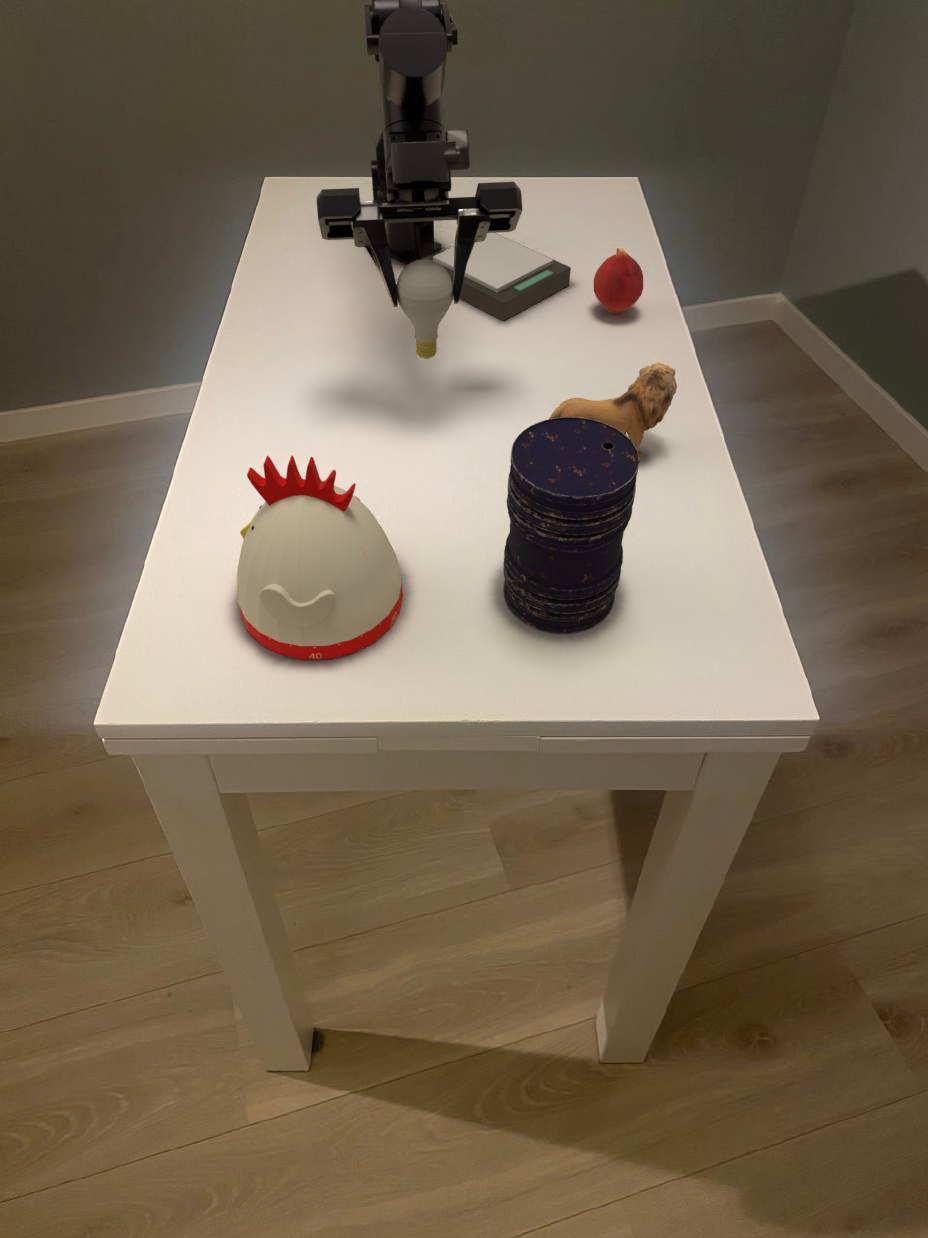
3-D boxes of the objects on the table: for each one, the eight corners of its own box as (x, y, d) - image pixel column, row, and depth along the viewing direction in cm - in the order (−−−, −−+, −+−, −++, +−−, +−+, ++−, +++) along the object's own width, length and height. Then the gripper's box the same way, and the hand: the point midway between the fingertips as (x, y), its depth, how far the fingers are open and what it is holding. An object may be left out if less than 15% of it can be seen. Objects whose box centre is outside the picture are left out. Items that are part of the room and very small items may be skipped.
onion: (638, 301, 114) (648, 237, 108) (639, 326, 110) (649, 261, 104) (590, 298, 115) (597, 235, 109) (590, 323, 111) (597, 258, 105)
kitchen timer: (263, 537, 86) (234, 399, 75) (412, 548, 85) (405, 410, 74) (222, 652, 76) (181, 515, 65) (388, 666, 76) (376, 529, 64)
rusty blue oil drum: (532, 649, 77) (545, 512, 66) (483, 571, 83) (487, 434, 72) (637, 614, 80) (666, 477, 68) (582, 541, 86) (601, 404, 74)
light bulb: (461, 347, 95) (461, 253, 87) (442, 376, 92) (441, 281, 84) (411, 337, 96) (407, 244, 89) (391, 366, 93) (385, 271, 85)
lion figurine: (650, 424, 97) (665, 348, 91) (675, 454, 94) (692, 377, 87) (520, 453, 94) (525, 377, 87) (541, 486, 91) (548, 408, 84)
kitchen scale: (422, 279, 118) (422, 256, 115) (488, 247, 123) (489, 225, 121) (503, 321, 111) (504, 297, 109) (569, 285, 117) (571, 262, 114)
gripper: (304, 93, 78) (319, 283, 79) (525, 86, 80) (537, 273, 81) (315, 152, 89) (328, 317, 90) (508, 144, 91) (519, 308, 92)
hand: (425, 304), depth 88 cm, fingers closed on light bulb, 5 cm apart
